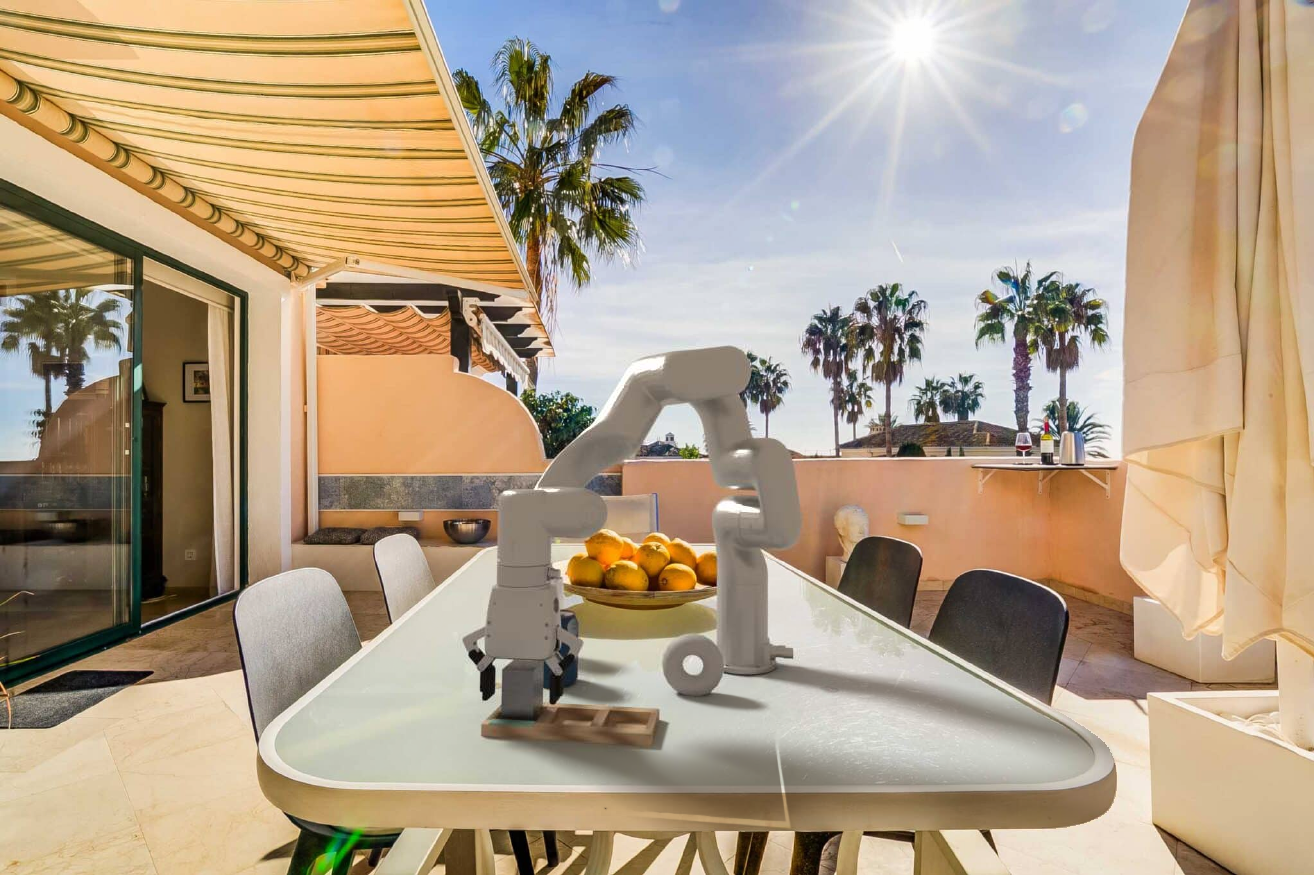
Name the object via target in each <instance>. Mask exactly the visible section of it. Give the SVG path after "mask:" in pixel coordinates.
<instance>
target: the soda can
mask: <svg viewBox="0 0 1314 875" xmlns="http://www.w3.org/2000/svg"><path fill="white" fill-rule="evenodd" d="M560 616H561V628H562V629H564V630H566V631H568V632H569V633H571V634H573V635H574V636H576V637H578V638H579V624H580V623H579V621H578V619H577V616H576V612H575V611H574V610H571V609H564V608H563V609H560ZM569 651H570V647H569V645H567V644H565V643H564V642H562V641H561V648H560V650H559V651H558V652H559V654H560V655H561V656H562V657H563V659H564V658H565V657H566V656H567V655H568V653H569ZM552 673H553V671H552V670H551V668H550V667H549V666H548V664H547V663H546V662H545V660H544V670H543V688H545V689H550V675H551V674H552ZM578 676H579V654H578V655H577V658H576V659H575V660H574V662H573V663H572V664H571V665H570V666H569V667H568V668H567V669H566V670H565V671H564V689H565V688H569V687H571V686H573V685H575V683H576V681H577V679H578V678H579V677H578Z"/></svg>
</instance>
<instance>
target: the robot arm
mask: <svg viewBox="0 0 1314 875" xmlns="http://www.w3.org/2000/svg"><path fill="white" fill-rule="evenodd" d="M751 376H752V366H751V362H750V360H749V357H748V356H747V354H746V353H745V352H744V351H743V350H742V349H740V348H739V347H736V346H733V345H722V346H715V347H705V348H698V349H697V348H695V349H683V350H673V351H668V352H662V353H658V354H652V355H648V356H643V357H641V358H638V359H636V360H635V361H633V362H632V363H631V364H630V365H629V366H628V368H627V369H626V370H625V372H624V373H623V375H622V377H621V378H620V380H619V381H618V382H617V384H616V386H615V388H614V389H613V391H612V392H611V394H610V396H609V397H608V399H607V400H606V401H605V404H604V405H603V407H602V408H601V410H600V411H599V413H598V415H597V416H596V418H595V419H594V421H593V422H592V423H591V424H590V425H589V426H588V427H587V428H586V429H584V430H583V431H582V432H581V433H580V434H579V435H578V436H576V438H574V439H573V440H572V441H571V442H570V443H569V444H568V445H567V446H565V447H564V449H562V451H560V452H559V453H558V454H557V456H555V457H554V459H553V460H552V461H551V462H550V463H549V464H548V466H547V468H546V469H545V471H544V472H543V474H542V475H541V477H540V478H539V480H537V483H536V485H535V487H534V488H532V489H531V488H520V489H519V488H515V489H514V488H513V489H506V490H504V491H502V492H501V493H500V495H499V497H498V504H497V505H498V506H497V545H496V546H497V548H496V549H497V554H496V560H497V561H496V583H495V584H494V585H493V586H492V587H491V591H490V594H489V595H490V596H489V599H488V605H487V606H488V607H487V611H486V619H485V626H483V627H481V628H479V629H476V630H475V631H473V632H471V633H469V634H467V635H465V636H464V637H463V638H462V643H463V646H464V647H465V649H466V652H468V653H467V654H468V655H467V656H468V658H469V659H470V660H471V661H472V662H473V664H474V665H475V666H476V670H477V671H478V672H479V692H480V693H481V700H482V701H483V702H487V701H488V700H489V699H491V698H492V697H493V696H494V695H495V694H496V669H497V668H496V665H493V663H494V662H495V660H497V659H498V660H511V661H513V660H528V661H544V660H545V662H546V663H547V664H548V666H549V667H550V668H551V670H552V671H553V673H552V674H551V675H550V688H549V696H548V697H549V699H548V701H549V702H548V703H551V705H555V704H556V703H558V702H559V700H560V699H561V697H563V695H564V690H565V688H564V671H565V670H566V669H567V668H568V667H569V666H570V665H571V664H572V663H573V662H574V660H575V659H576V658H577V655H578V656H579V653H580V651H581V650H582V648H583V647H584V640H583V639H581V638H579V636H578V637H576V636H574V635H573V634H571V633H569V632H568V631H566V630H564V629H562V628H561V616H560V605H559V597H558V591H557V586H556V585H554V584H551V582H552V580H554V579H560V576H561V575H562V574H561V573H562V572H561V571H562V570H561V569H559V568H555V567H554V566H553V563H552V540H553V538H562V539H563V538H565V539H573V540H581V539H582V540H583V539H588V538H591V537H593V536H595V535H596V534H597V533H599V532H600V531H601V530H602V529H603V528H604V526H605V524H606V522H607V520H608V519H607V518H608V507H607V503H606V502H605V500H604V498H603V497H602V496H601V495H600V494H599V493H597V492H596V491H594V490H592V489H590V488H589V489H588V488H586V486H587V485H588V484H589V483H590V482H591V481H592V480H593V479H595V478H596V476H598V475H600V474H601V473H602V472H604V471H606V470H608V469H609V468H611V467H613V466H615V465H618V464H620V463H622V462H624V461H626V460H628V459H629V458H631V457H632V456H634V455H635V454H636V453H637V452H638V451H639V450H640V448H642V445H643V443H644V441H646V438H647V437H648V435H649V433H650V431H651V430H652V428H653V426H654V425H655V423H656V421H657V419H658V418H659V416H660V415H661V412H662V411H663V410H664V408H665V407H666V406H671V405H683V404H689V405H690V406H691V407H692V408H693V409H694V410H695V412H696V413H697V415H698V417H699V418H700V422H701V423H702V428H703V433H704V437H705V444H706V451H707V456H708V461H709V462H708V463H709V467H710V472H711V475H712V476H711V477H712V478H713V480H714V482H715V484H716V485H717V486H718V487H721V488H722V489H726V490H737V491H739V490H740V491H755V492H756V494H755V495H753V494H750V495H749V494H731V495H728V496H726V497H723V498H722V499H721V500H718V502H717V503H716V505H715V506H714V508H713V511H712V513H711V527H712V528H711V529H712V535H713V539H714V543H715V552H716V554H715V555H716V646H717V647H718V648H719V650H720V652H721V654H722V656H723V663H724V670H723V673H727V674H732V675H733V674H734V675H760V674H766V673H770V672H772V671H774V670H775V669H776V668H777V658H781V659H782V658H783V659H789V660H790V659H794V648H793V647H786V645H783V644H781V645H776V644H775V645H774V644H773V643H771V641H770V637H769V618H768V617H769V570H768V565H767V562H766V561H767V560H766V558H765V557H764V556H765V555H764V554H763V551H762V549H765V550H772V551H785V550H789V549H791V548H793V547H794V546H796V545H797V543H798V542H799V539H800V538H801V534H802V530H803V516H802V510H801V509H802V508H801V502H800V495H799V490H798V483H797V475H796V468H795V465H794V460H793V457H792V454H791V452H790V451H789V449H788V447H787V446H786V445H785V444H784V443H783V442H782V441H780V440H778V439H776V438H772V437H754V436H753V434H752V431H751V425H750V422H749V417H748V413H747V412H748V411H747V408H746V406H745V404H744V402H743V401H742V398H740V396H739V394H740V393H742V392H743V391H744V390H746V388H747V386H748V384H749V383H750V380H751V378H752V377H751ZM482 638H484V652H485V653H484V652H483V650H481V649H480V648H479V646H478V640H481V639H482ZM561 641H562V642H564V643H565V644H567V645H569V647H570V651H569V653H568V655H567V656H566V657H565V658H564V659H563V657H562V656H561V655H560V654H559V652H558V651H559V650H560V648H561Z"/></svg>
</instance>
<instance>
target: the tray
mask: <svg viewBox="0 0 1314 875" xmlns="http://www.w3.org/2000/svg"><path fill="white" fill-rule="evenodd" d="M660 710H661V709H660V708H654V707H653V708H650V707H649V708H648V707H634V706H632V707H631V706H630V707H629V706H616V705H615V706H614V705H613V706H612V705H598V704H596V705H593V704H583V703H582V704H580V703H579V704H578V703H564V702H563V703H562V702H561V703H560V702H556V704H555V705H551V703H549V702H544V701H543V714H542V715H541V716H540V718H539V719H538V720H537V721H536V723H535V721H523V720H506V719H501V704H500V705H499V706H498V707H497V708H496V709H495V710H493V711H492V713H491V714H490V715H489V716H488V717H486V719H485V720H484V721H482V722H481V724H480V725H481V727H480V736H481V737H491V738H492V737H494V738H508V739H509V738H510V739H525V740H541V741H555V742H556V741H557V742H570V743H571V742H572V743H587V744H604V745H605V744H606V745H618V746H619V745H620V746H632V747H633V746H635V747H636V746H638V747H650V748H651V747H652V746H653V742H654V738H655V736H656V732H657V729H658V725H659V722H660Z"/></svg>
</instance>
